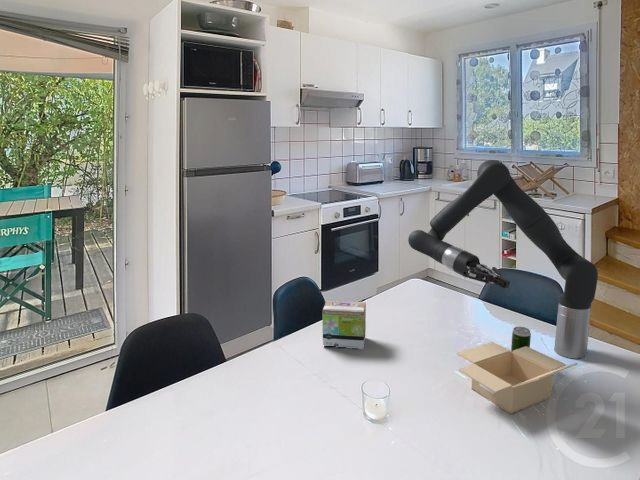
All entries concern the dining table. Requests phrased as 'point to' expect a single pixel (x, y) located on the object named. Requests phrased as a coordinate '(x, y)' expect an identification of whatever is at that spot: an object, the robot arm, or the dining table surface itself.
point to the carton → (509, 375)
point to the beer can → (520, 338)
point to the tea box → (344, 324)
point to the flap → (546, 374)
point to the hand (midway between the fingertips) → (507, 285)
